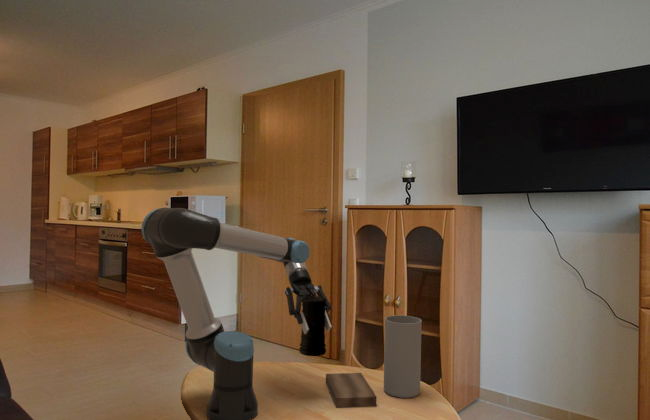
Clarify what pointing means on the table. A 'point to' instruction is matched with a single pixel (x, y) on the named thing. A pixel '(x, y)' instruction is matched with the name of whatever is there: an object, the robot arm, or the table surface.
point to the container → (313, 326)
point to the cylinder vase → (402, 356)
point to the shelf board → (350, 390)
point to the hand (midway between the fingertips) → (318, 330)
